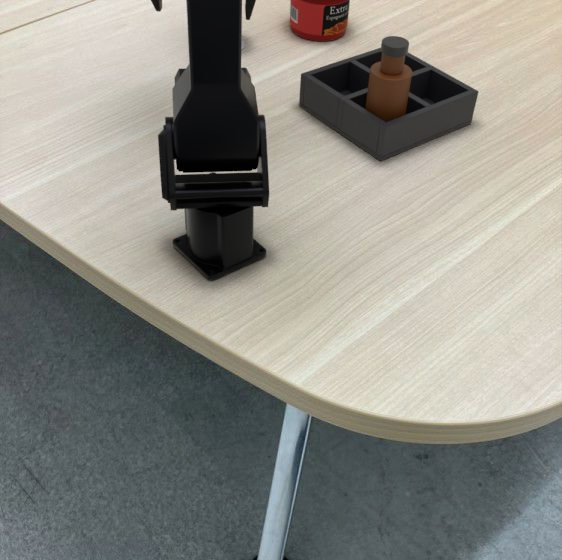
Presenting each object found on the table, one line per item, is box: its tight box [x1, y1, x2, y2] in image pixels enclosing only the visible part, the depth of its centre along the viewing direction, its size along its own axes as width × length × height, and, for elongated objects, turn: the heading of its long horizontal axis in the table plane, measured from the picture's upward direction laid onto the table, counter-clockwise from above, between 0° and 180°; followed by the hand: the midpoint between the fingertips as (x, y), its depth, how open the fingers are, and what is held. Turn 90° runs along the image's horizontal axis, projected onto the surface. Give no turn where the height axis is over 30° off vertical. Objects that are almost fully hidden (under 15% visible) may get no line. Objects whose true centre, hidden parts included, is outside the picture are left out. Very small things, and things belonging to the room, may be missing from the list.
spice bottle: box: [365, 35, 412, 122], centre depth 84 cm, size 4×4×10 cm
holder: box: [298, 47, 479, 162], centre depth 90 cm, size 14×14×4 cm
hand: (203, 14), depth 80 cm, fingers open, 9 cm apart
